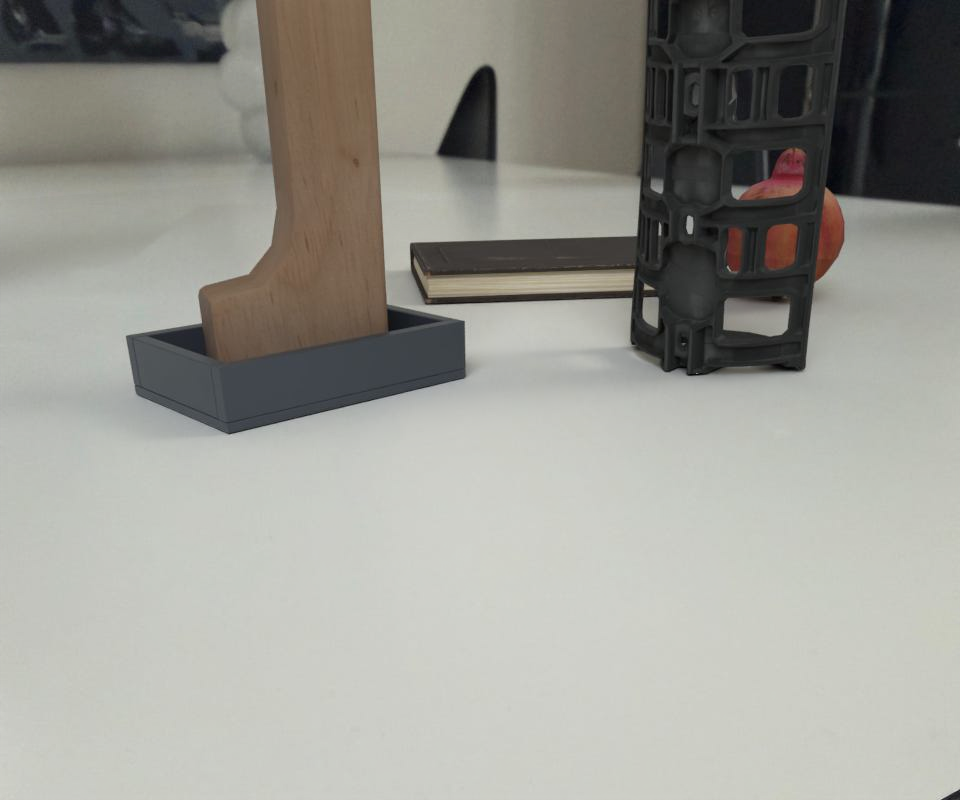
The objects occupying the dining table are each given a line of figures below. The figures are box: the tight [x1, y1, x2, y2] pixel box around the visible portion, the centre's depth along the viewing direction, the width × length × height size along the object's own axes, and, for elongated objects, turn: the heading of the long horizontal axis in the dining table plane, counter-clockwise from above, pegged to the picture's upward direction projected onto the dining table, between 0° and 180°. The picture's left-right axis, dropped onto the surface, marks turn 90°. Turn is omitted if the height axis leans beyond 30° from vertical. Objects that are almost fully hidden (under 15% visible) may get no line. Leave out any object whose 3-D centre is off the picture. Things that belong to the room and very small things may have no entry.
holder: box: [629, 0, 848, 375], centre depth 52 cm, size 11×8×20 cm
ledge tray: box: [125, 303, 467, 434], centre depth 53 cm, size 10×15×3 cm, turn 132°
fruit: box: [727, 148, 845, 302], centre depth 71 cm, size 8×8×10 cm
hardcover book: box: [409, 234, 728, 305], centre depth 81 cm, size 16×23×2 cm
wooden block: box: [197, 0, 388, 363], centre depth 49 cm, size 9×4×18 cm, turn 111°
